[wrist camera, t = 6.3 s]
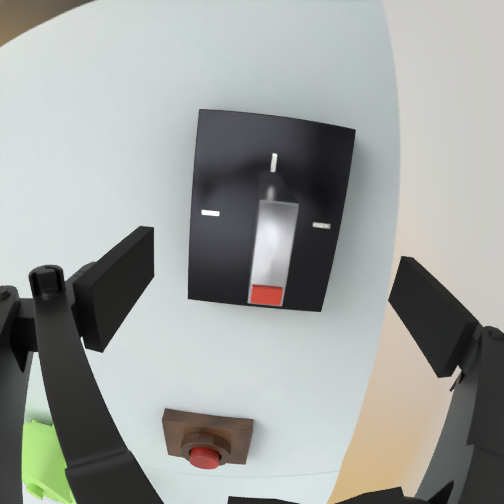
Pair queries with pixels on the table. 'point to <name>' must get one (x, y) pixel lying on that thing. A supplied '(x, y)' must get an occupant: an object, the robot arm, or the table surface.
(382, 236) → the table surface
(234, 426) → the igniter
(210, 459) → the button
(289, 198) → the red-tipped metal bar
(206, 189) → the panel
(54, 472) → the teapot
